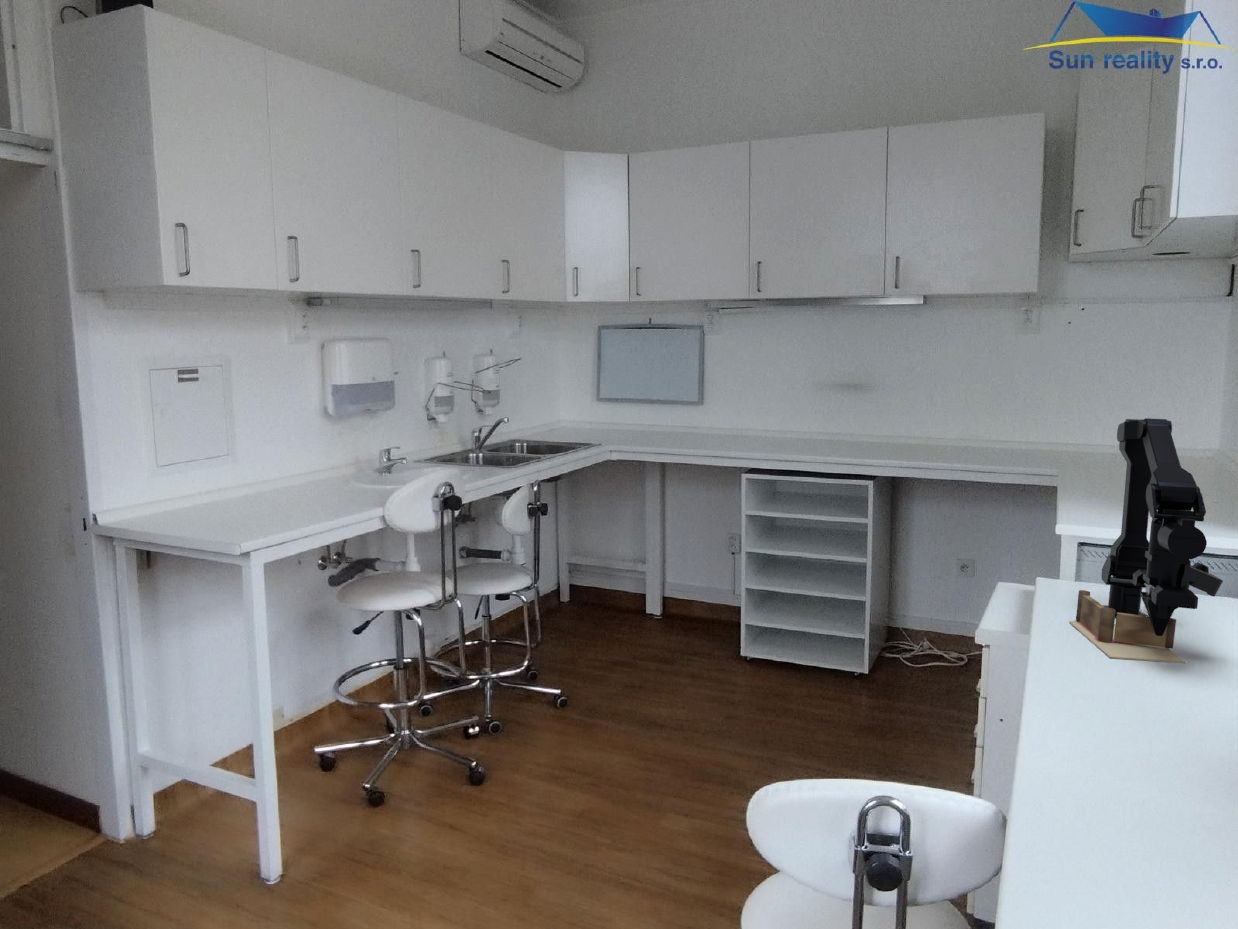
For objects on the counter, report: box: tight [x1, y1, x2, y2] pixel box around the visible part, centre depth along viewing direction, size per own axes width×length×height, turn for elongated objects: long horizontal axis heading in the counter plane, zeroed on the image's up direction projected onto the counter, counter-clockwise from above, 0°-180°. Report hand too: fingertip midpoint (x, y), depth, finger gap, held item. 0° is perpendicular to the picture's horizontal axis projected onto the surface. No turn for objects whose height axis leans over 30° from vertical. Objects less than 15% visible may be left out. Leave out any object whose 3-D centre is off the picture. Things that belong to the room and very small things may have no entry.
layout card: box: [1069, 621, 1187, 664], centre depth 170 cm, size 20×12×1 cm, turn 173°
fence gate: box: [1114, 612, 1177, 650], centre depth 166 cm, size 9×2×5 cm, turn 65°
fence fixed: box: [1075, 589, 1116, 643], centre depth 174 cm, size 14×2×6 cm, turn 173°
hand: (1158, 635), depth 163 cm, fingers closed
